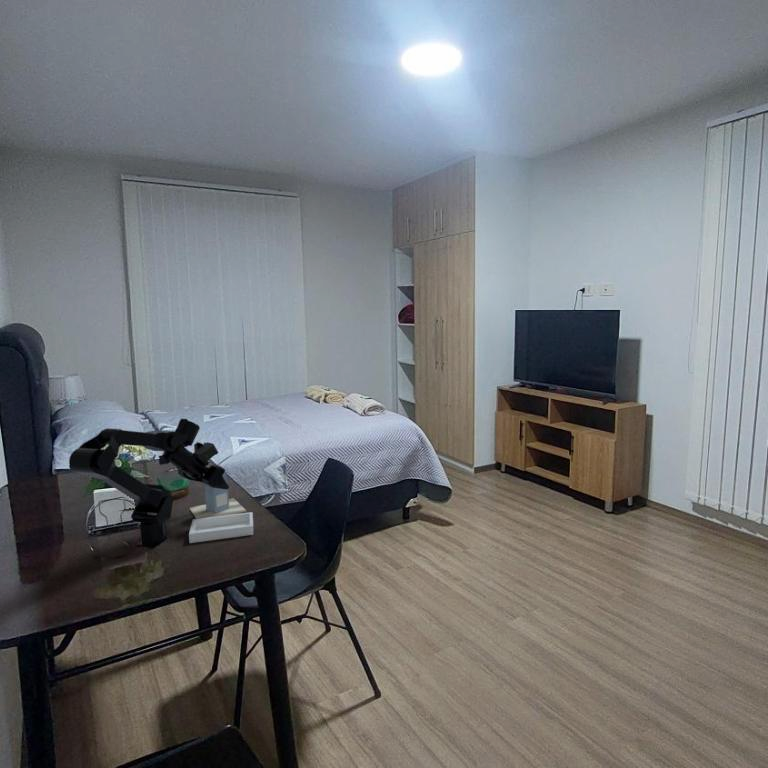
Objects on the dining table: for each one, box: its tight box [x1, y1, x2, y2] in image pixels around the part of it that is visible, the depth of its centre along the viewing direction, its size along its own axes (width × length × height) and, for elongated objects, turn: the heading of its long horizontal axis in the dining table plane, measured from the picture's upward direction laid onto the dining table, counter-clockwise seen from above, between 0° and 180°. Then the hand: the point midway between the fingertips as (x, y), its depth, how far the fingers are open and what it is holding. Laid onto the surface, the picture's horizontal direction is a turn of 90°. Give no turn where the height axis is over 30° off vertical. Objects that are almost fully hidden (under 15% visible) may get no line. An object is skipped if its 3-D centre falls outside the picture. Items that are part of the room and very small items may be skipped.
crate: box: [188, 511, 254, 544], centre depth 147 cm, size 17×11×3 cm, turn 104°
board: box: [189, 497, 248, 519], centre depth 163 cm, size 14×14×1 cm
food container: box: [154, 467, 190, 501], centre depth 178 cm, size 12×6×10 cm, turn 143°
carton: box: [203, 470, 230, 513], centre depth 162 cm, size 5×5×12 cm
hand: (219, 485), depth 163 cm, fingers open, 9 cm apart
